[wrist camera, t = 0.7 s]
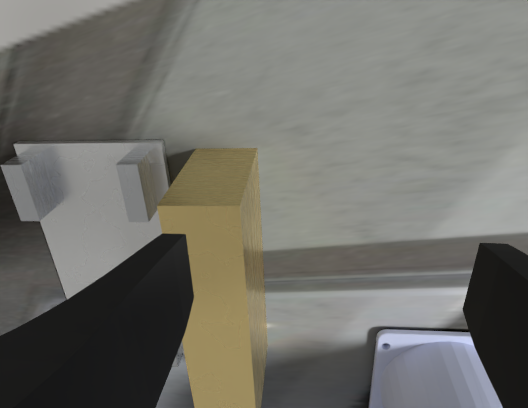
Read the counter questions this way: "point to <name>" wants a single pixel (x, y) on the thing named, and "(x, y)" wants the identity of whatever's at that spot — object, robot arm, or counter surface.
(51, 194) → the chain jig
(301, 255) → the counter surface
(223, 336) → the brass plaque on stand
